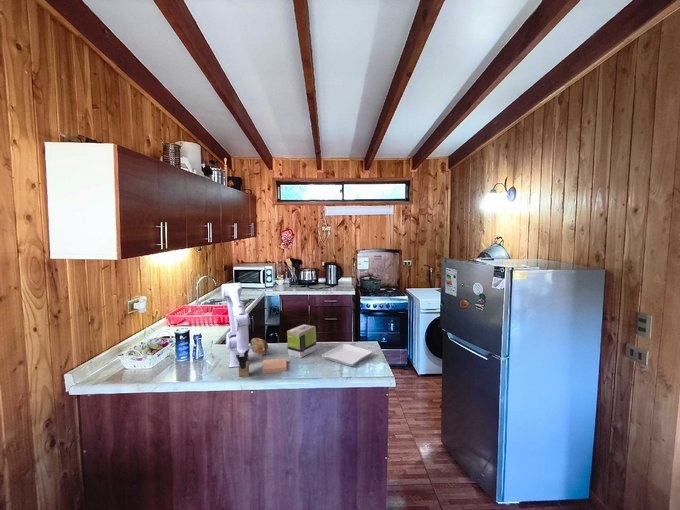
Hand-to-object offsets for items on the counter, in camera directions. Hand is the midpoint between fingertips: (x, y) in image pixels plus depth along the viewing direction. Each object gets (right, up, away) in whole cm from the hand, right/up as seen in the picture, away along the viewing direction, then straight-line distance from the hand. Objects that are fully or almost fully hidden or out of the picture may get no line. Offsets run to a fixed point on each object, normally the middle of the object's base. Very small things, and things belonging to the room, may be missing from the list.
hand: (243, 365), depth 162 cm
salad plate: (+52, -3, +20) cm, 56 cm away
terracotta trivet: (+14, -5, +9) cm, 17 cm away
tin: (0, -3, +30) cm, 30 cm away
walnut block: (0, -5, 0) cm, 5 cm away
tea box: (+26, -3, +29) cm, 39 cm away
